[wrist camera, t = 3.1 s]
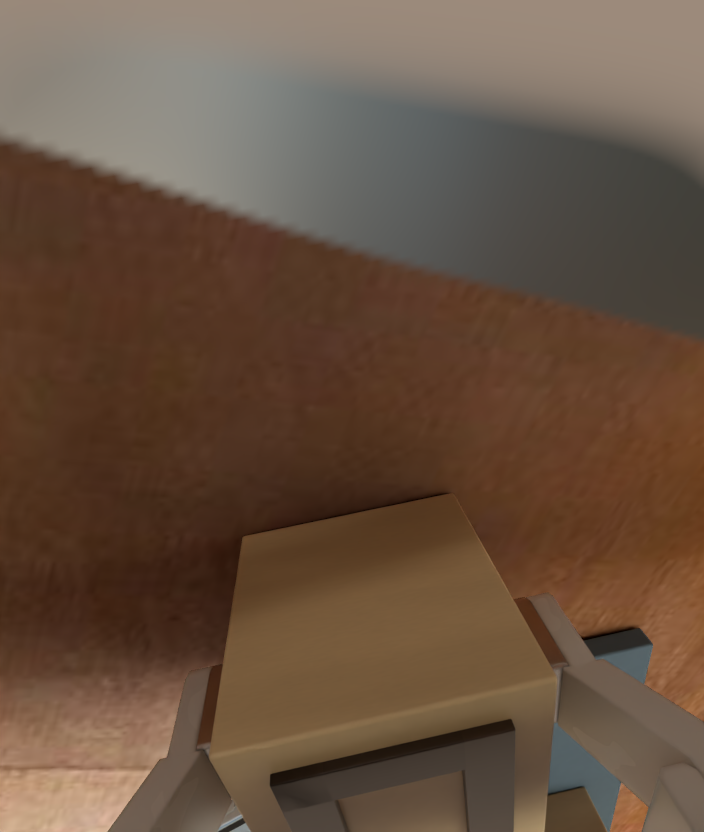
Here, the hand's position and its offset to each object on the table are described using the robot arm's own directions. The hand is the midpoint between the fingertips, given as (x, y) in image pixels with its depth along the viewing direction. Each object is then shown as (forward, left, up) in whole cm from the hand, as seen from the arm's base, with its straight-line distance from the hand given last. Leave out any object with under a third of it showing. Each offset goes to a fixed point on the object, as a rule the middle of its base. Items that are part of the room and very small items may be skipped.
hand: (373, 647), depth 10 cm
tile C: (0, 0, -2) cm, 2 cm away
